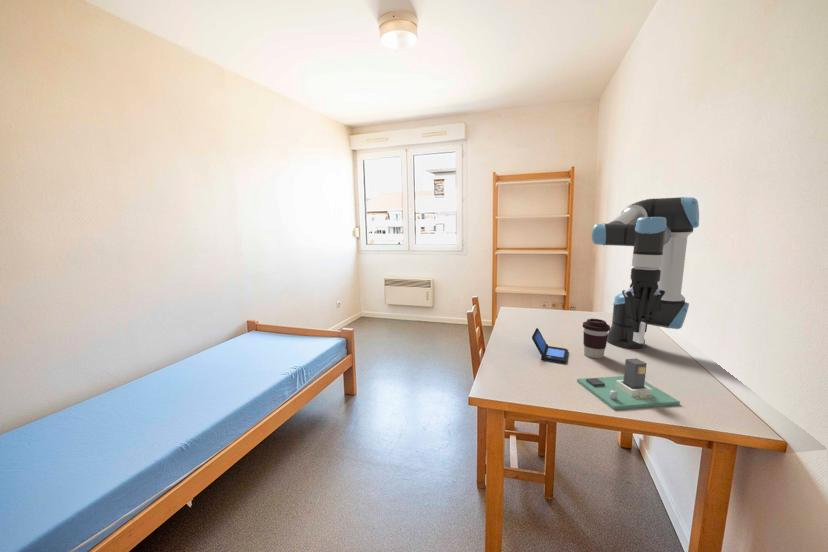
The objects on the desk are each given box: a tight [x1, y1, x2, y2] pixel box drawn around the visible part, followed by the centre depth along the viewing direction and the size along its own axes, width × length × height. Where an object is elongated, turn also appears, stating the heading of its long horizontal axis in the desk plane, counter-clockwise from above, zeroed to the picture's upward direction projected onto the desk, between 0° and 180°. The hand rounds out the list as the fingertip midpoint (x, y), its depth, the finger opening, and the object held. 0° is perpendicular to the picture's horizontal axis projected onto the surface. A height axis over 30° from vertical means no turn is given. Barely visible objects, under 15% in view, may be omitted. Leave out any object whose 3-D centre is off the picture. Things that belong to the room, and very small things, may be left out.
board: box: [576, 375, 681, 410], centre depth 110 cm, size 22×18×3 cm
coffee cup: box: [582, 318, 611, 359], centre depth 140 cm, size 10×10×15 cm
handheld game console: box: [531, 327, 569, 364], centre depth 141 cm, size 16×13×9 cm
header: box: [615, 380, 652, 397], centre depth 109 cm, size 7×8×2 cm
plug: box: [623, 358, 647, 389], centre depth 108 cm, size 4×5×10 cm
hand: (638, 341), depth 107 cm, fingers closed
